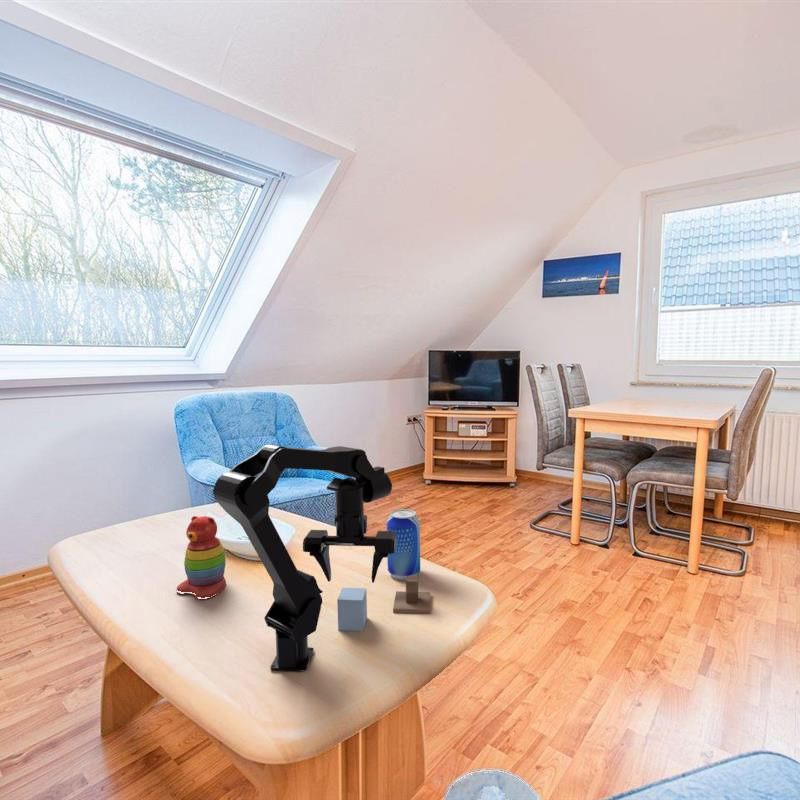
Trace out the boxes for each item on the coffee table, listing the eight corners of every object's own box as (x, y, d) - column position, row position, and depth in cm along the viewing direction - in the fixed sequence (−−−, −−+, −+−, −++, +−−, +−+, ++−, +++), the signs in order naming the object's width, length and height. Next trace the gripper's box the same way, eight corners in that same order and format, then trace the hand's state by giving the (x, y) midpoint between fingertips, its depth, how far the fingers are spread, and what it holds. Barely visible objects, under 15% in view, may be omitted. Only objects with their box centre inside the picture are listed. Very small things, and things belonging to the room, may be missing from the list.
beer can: (423, 568, 130) (422, 509, 129) (416, 583, 122) (415, 519, 121) (392, 565, 133) (391, 507, 131) (383, 579, 125) (382, 517, 123)
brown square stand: (429, 613, 108) (429, 587, 107) (393, 612, 109) (392, 586, 108) (430, 595, 116) (430, 571, 115) (396, 594, 117) (395, 570, 116)
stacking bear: (172, 593, 119) (167, 521, 117) (205, 575, 128) (201, 508, 127) (205, 602, 115) (201, 527, 113) (237, 583, 124) (233, 513, 122)
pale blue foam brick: (363, 631, 102) (362, 600, 101) (338, 630, 102) (337, 599, 101) (367, 617, 107) (366, 588, 106) (343, 616, 107) (342, 587, 106)
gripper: (398, 497, 109) (399, 565, 111) (314, 496, 111) (316, 563, 112) (393, 513, 98) (394, 589, 100) (300, 512, 100) (303, 587, 101)
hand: (351, 581), depth 103 cm, fingers open, 9 cm apart
